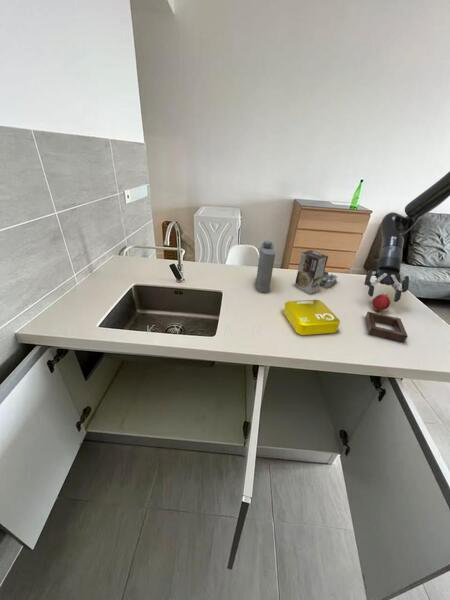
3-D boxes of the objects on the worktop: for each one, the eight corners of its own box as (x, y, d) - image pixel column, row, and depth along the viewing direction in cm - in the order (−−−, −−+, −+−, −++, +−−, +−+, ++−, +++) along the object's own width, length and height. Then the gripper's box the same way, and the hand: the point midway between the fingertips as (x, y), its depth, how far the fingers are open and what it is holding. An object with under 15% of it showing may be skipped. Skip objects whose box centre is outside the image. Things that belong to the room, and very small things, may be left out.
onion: (370, 312, 94) (378, 295, 90) (368, 305, 99) (375, 288, 95) (387, 316, 93) (395, 298, 88) (384, 308, 97) (392, 291, 93)
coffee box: (319, 290, 108) (329, 256, 99) (309, 294, 104) (319, 259, 96) (303, 282, 114) (311, 249, 106) (293, 285, 111) (301, 251, 102)
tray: (397, 325, 88) (400, 318, 86) (403, 343, 79) (407, 336, 78) (365, 317, 91) (367, 311, 89) (368, 334, 82) (371, 327, 81)
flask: (255, 277, 116) (261, 235, 106) (268, 278, 116) (274, 237, 105) (255, 292, 104) (261, 247, 93) (269, 293, 103) (276, 248, 93)
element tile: (317, 308, 95) (320, 298, 92) (339, 332, 82) (343, 321, 80) (281, 310, 92) (283, 300, 90) (298, 336, 80) (301, 324, 77)
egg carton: (322, 276, 121) (324, 269, 118) (337, 281, 116) (339, 274, 114) (313, 283, 114) (315, 275, 111) (328, 289, 109) (331, 280, 107)
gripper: (373, 252, 94) (366, 291, 91) (415, 259, 90) (409, 300, 87) (366, 260, 101) (360, 297, 98) (405, 267, 97) (400, 305, 94)
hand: (383, 298), depth 92 cm, fingers open, 8 cm apart
